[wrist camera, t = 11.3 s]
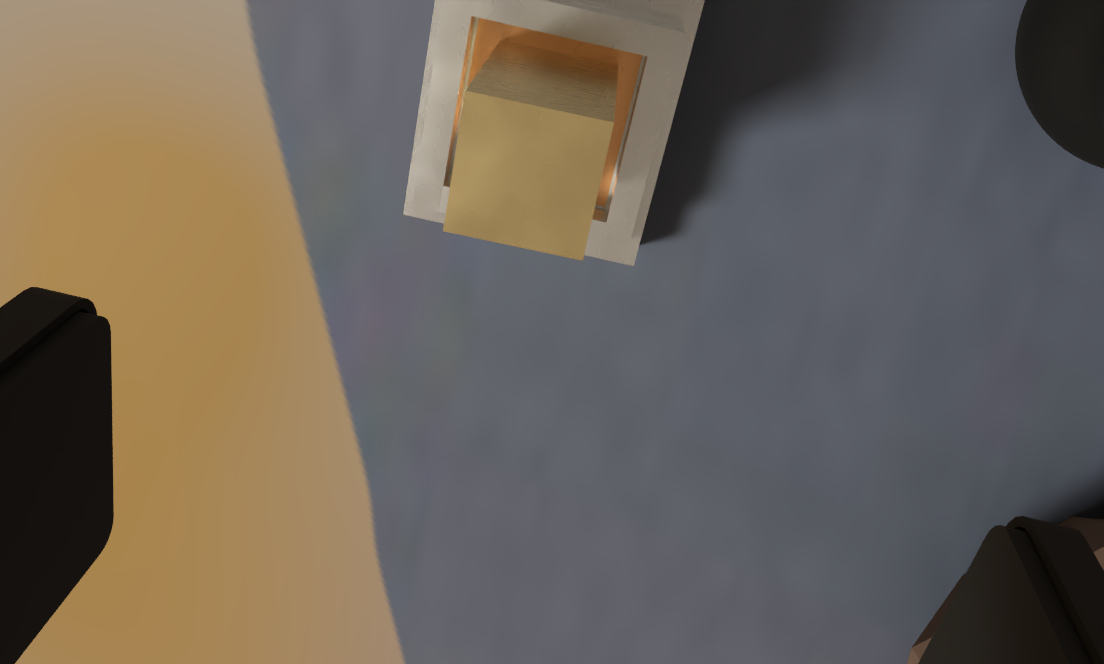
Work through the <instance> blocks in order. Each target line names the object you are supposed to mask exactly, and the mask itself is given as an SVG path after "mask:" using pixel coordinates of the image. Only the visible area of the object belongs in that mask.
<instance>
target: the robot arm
mask: <svg viewBox="0 0 1104 664" xmlns="http://www.w3.org/2000/svg"><path fill="white" fill-rule="evenodd" d="M112 450H113V447H112V379H111V331H110V324H109V322H108V320H107V319H106V318H105V317H102V316H97V312H96V309H95V307H94V304H93V303H92V302H91V301H90V300H89V299H85V298H81V297H77V296H72V295H68V294H64V293H60V292H56V291H50V290H47V289H43V288H38V287H30V288H28V289H26V290H24V291H23V292H21V293H20V294H18V295H17V296H16V297H14V298H13V299H12V300H10V301H9V302H8V303H6V304H5V305H3V306H2V307H1V308H0V664H15V663H16V661H17V660H18V659H19V657H20V656H21V655H22V654H23V652H24V651H25V650H26V648H27V647H28V646H29V645H30V643H31V642H32V641H33V639H34V638H35V637H36V635H37V634H38V633H39V632H40V630H41V629H42V628H43V626H44V625H45V624H46V623H47V621H48V620H49V619H50V617H51V616H52V615H53V614H54V612H55V611H56V610H57V609H58V607H59V606H60V605H61V604H62V602H63V601H64V600H65V598H66V597H67V596H68V595H69V593H70V592H71V591H72V589H73V588H74V587H75V586H76V584H77V583H78V582H79V580H80V579H81V578H82V577H83V575H84V574H85V572H86V571H87V570H88V569H89V567H90V566H91V565H92V564H93V562H94V561H95V560H96V559H97V557H98V556H99V554H100V553H101V552H102V550H103V549H104V547H105V545H106V543H107V541H108V539H109V536H110V533H111V529H112V525H113V516H114V515H113V514H114V513H113V451H112ZM918 664H1104V570H1103V568H1102V567H1101V565H1100V563H1099V561H1098V560H1097V558H1096V556H1095V554H1094V553H1093V551H1092V549H1091V547H1090V546H1089V544H1088V542H1087V540H1086V539H1085V537H1084V536H1083V535H1082V533H1081V532H1080V531H1079V530H1076V529H1074V528H1071V527H1067V526H1062V525H1058V524H1054V523H1049V522H1045V521H1041V520H1037V519H1032V518H1028V517H1024V516H1020V517H1015V518H1014V519H1013V520H1011V521H1010V522H1009V523H1008V525H1007V526H1006V527H1005V526H1001V525H999V526H995V527H993V528H992V529H991V530H990V531H989V533H988V534H987V536H986V537H985V539H984V541H983V543H982V545H981V547H980V549H979V550H978V552H977V554H976V556H975V558H974V560H973V562H972V564H971V565H970V567H969V569H968V571H967V573H966V575H965V577H964V578H963V580H962V582H961V584H960V586H959V588H958V590H957V592H956V593H955V595H954V597H953V599H952V601H951V603H950V605H949V607H948V608H947V610H946V612H945V614H944V616H943V618H942V620H941V622H940V623H939V625H938V627H937V629H936V631H935V633H934V635H933V637H932V638H931V640H930V642H929V644H928V646H927V648H926V650H925V652H924V653H923V655H922V657H921V659H920V661H919V663H918Z"/></svg>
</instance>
